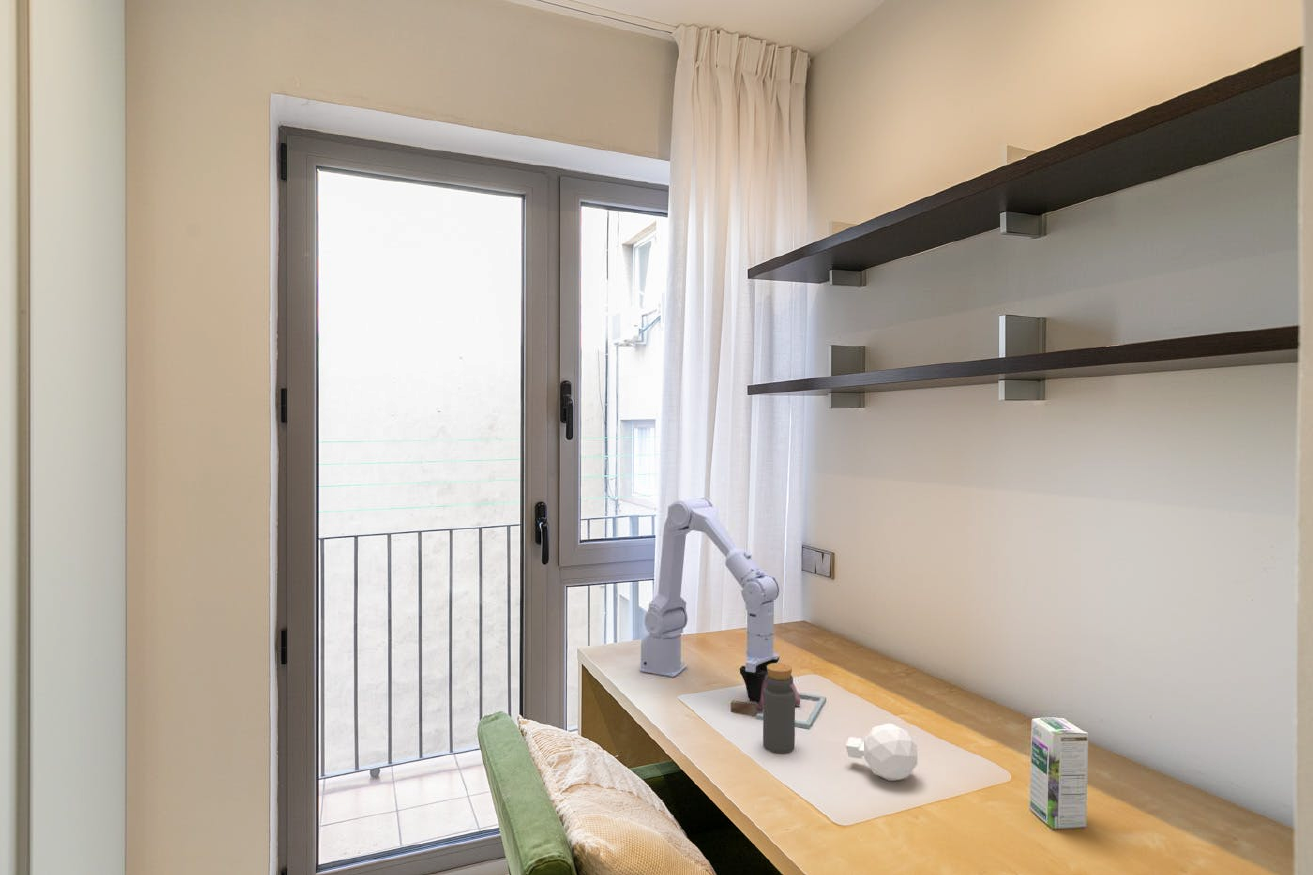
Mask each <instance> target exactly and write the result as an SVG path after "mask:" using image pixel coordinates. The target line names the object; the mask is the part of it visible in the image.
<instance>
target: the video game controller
mask: <svg viewBox="0 0 1313 875" xmlns="http://www.w3.org/2000/svg"><path fill="white" fill-rule="evenodd" d="M765 677H766V676H765ZM768 685H769V684H768V683H767V682H766V680H765V678H764V681H763V685H762V692H761V698H760V701H759V703H757V702H755V703H756V705H757V708H758V709H760V711H763V692H764V688H765V687H766V686H768ZM790 687H791V688H792V689H793V690H794V691H795V707H799V706H800V705H801V698H800V697H799V694H798V692H799V691H798V690H797V688H796V686H795V683H794V682H793V683H792V684H791V685H790Z"/></svg>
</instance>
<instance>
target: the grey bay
mask: <svg viewBox="0 0 1313 875" xmlns="http://www.w3.org/2000/svg"><path fill="white" fill-rule="evenodd" d="M797 692H798V694H799V697H800V699H803V698H805V699H804V700H809V699H811V701H815V700H816V701H817V703H816V705H814V708H813V710H812V711H811V713H810V714H809V716H808V718H807V719H806V721H802V720H796V719H795V728H796V727H797V728H802V729H808V730H811V727H812V726H813V724H814V722H815V721H816V719H817V717H818V715H819V714H820V712H821V710H822V708H824V705H825V703H826V702H827V697H826V696H822V695H816V694H812V693H811V694H810V693H804V692H800V691H797ZM755 720H761V721H763V713H756V714H755Z"/></svg>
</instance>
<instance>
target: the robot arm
mask: <svg viewBox="0 0 1313 875" xmlns="http://www.w3.org/2000/svg"><path fill="white" fill-rule="evenodd" d="M667 507H668V508H667V518H666V519H665V522H664V524H663V535H662V548H661V558H660V567H659V568H660V569H659V578H658V580H659V581H658V592H657V593H658V594H656V596H655V597H654V598H653V599H652V600H651V601H650V602H649V603H648V609H647V612H646V614H645V615H644V626H645V629H646V630H647V631H645V633H644V634H643V636H642V638H641V641H640V642H641V644H640V668H639V672H641V673H647V674H654V675H660V676H665V677H671V678H674V677H676V676H678V675H679V674H680V673H681V672H683V671H684V670H685V669H687V665H686V664H683V663H682V662H681V661H682V660H681V658H682V652H681V651H682V647H681V646H682V643H681V642H682V640H681V639H682V634H683V632H684V628H686V627H687V625H688V622H689V621H688V619H689V618H688V612H687V602H686V601H685V600H684V599H683V598H682V596H681V593H682V583H683V574H684V573H683V571H684V570H683V569H684V559H685V551H686V541H687V540H686V537H687V535H688V534H689V533H691V531H695V532H701V533H704V534H706V535H707V537H708V538H709V539H710V541H711V542H712V543H713V544H714V545H715V546H716V547H717V549H718V550H719V551H720V552H721V553H722V555H723V556H724V557H725V562H724V564H725V567H726V568H727V569H728V571H729V572H730V573H731V575H732V577H733V578H734V579H735V580H736V582H737V583H738V584H739V585H740V587H741V588H742V589H741V590H740V593H741V597H742V599H743V601H744V602H745V610H746V651H745V658H746V659H745V665H741V666H740V667H739V674H740V675H741V677H742V679H743V682H744V684H745V688H746V691H747V692H746V693H747V697H748V700H749V702H751V703H756V702H757V703H759V701H760V698H761V692H762V685H763V681H764V678H765V676H766V675H767V674H768V671H767V665H769V664H772V663H779V660H780V654H779V653H775V649H774V648H775V647H774V645H775V644H774V637H775V636H774V634H775V633H774V632H775V631H774V630H775V626H774V625H775V620H774V619H775V614H774V613H775V611H774V610H775V600H776V599H777V598H778V597H779V595H780V586H779V583H778V581H777V580H776V577H775V576H773V575H772V574H767V573H766V572H765V571H764V570H763V569H761V568H760V566H759V565H758V563H756V561H755V560H754V558H753V555H752V554H751V552H750V550H749V551H748V550H746V549H745V548H739V547H738V546H737V544H736V542H735V541H734V540H733V538H732V537H731V536H732V535H730V534H729V531H728V530H727V529H726V527H725V526H724V524H723V523H722V521H721V520H720V518H719V516H718V514H719V512H718V509H717V508H716V507H715V506H714V504H713V502H712V501H711V500H710V499H709V498H706V497H700V498H698V499H697V498H696V499H687V500H676V501H674V502H673V503H671V504H670V505H668V506H667Z"/></svg>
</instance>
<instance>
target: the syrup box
mask: <svg viewBox="0 0 1313 875" xmlns="http://www.w3.org/2000/svg"><path fill="white" fill-rule="evenodd" d="M1030 729H1031V732H1030V735H1031V736H1030V777H1029V810H1030V811H1031V813H1032V812H1033V813H1034V814H1035V816H1037V817H1038V818H1039V819H1040V820H1042V821H1043V823H1045V824H1046V825H1047V826H1048V827H1049V828H1050V829H1051V830H1060V829H1062V830H1063V829H1077V828H1079V829H1080V828H1087V809H1088V808H1087V807H1088V805H1087V804H1088V770H1089V769H1088V765H1089V763H1088V761H1089V756H1088V755H1089V732H1087V731H1084V730H1082V729H1081V728H1079V727H1078V726H1077V725H1074V724H1073V723H1072V722H1070V721H1068V720H1067V719H1066V718H1063V717H1053V716H1052V717H1048V716H1047V717H1038V718H1032V719H1031V728H1030Z"/></svg>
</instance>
